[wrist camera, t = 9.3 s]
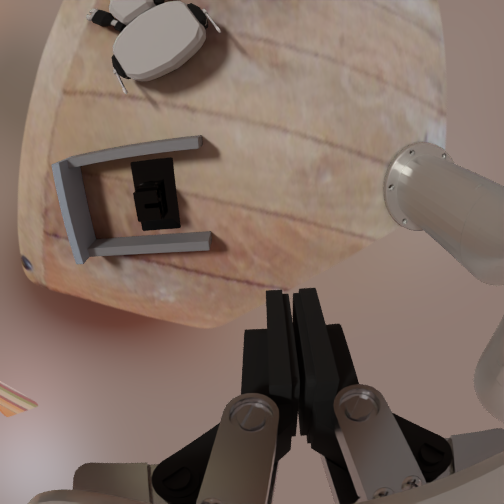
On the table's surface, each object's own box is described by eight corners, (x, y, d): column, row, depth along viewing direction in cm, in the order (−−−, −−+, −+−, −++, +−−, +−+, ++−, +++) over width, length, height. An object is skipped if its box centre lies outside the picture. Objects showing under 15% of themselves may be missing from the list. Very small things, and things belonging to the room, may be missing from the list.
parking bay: (201, 135, 33) (194, 139, 29) (211, 239, 39) (207, 258, 35) (71, 156, 33) (51, 164, 29) (91, 247, 39) (76, 264, 35)
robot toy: (91, 22, 26) (140, 100, 31) (74, 14, 21) (124, 98, 27) (169, -32, 23) (227, 44, 28) (159, -47, 19) (223, 32, 24)
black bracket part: (189, 236, 40) (183, 253, 36) (139, 239, 40) (128, 255, 36) (178, 144, 34) (168, 150, 30) (123, 152, 34) (108, 159, 30)
